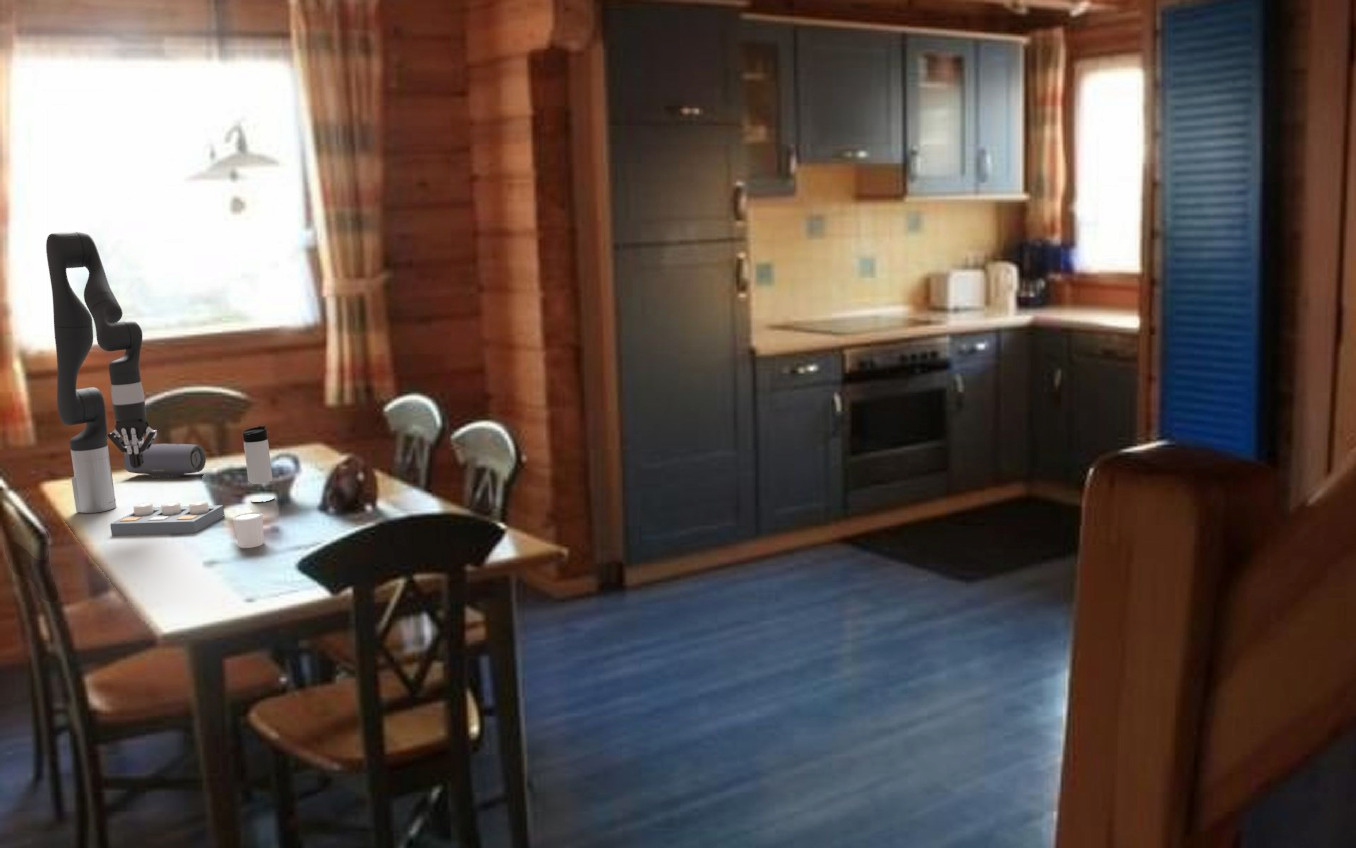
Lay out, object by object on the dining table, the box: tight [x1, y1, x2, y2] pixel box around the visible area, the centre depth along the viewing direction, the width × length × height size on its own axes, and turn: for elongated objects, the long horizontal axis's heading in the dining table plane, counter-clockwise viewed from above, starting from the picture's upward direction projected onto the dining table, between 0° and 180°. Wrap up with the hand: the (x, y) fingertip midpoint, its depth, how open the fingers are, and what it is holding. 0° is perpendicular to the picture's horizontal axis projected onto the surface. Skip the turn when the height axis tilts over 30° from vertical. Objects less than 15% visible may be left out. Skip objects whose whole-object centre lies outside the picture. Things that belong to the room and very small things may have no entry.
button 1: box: [133, 502, 154, 516], centre depth 333 cm, size 5×5×3 cm
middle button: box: [160, 502, 182, 515], centre depth 332 cm, size 5×5×3 cm
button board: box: [109, 504, 225, 536], centre depth 330 cm, size 22×16×3 cm
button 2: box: [188, 501, 209, 514], centre depth 331 cm, size 5×5×3 cm
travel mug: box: [242, 425, 273, 484], centre depth 352 cm, size 6×7×20 cm
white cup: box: [232, 512, 264, 549], centre depth 307 cm, size 7×7×7 cm
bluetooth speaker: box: [122, 443, 207, 478], centre depth 393 cm, size 23×9×10 cm, turn 77°
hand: (137, 467), depth 331 cm, fingers closed
